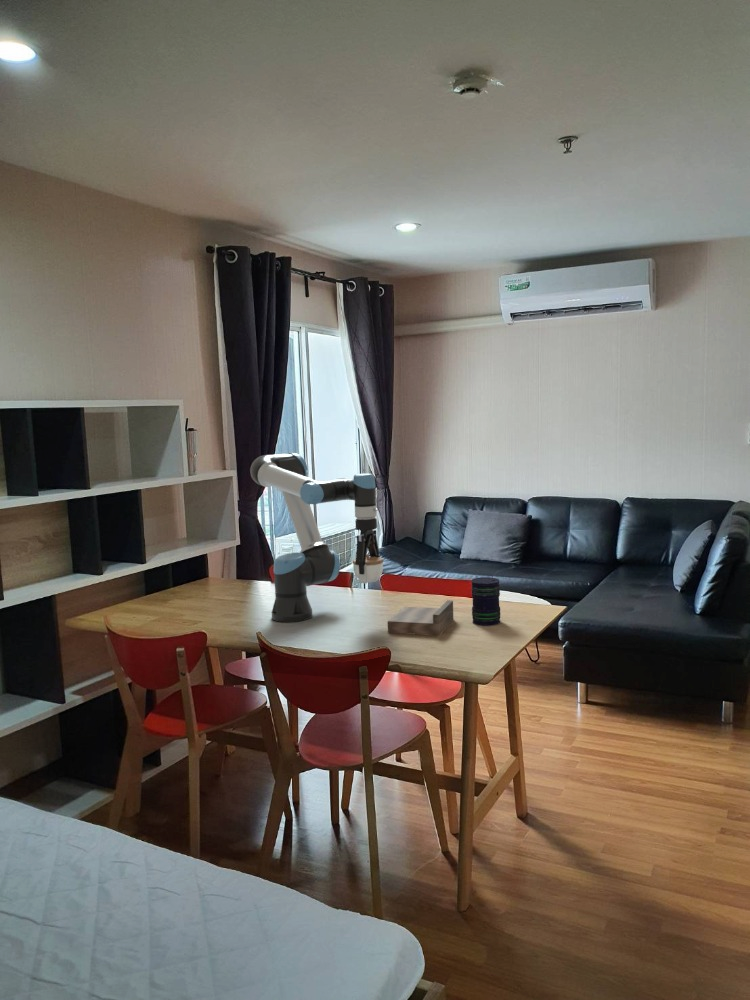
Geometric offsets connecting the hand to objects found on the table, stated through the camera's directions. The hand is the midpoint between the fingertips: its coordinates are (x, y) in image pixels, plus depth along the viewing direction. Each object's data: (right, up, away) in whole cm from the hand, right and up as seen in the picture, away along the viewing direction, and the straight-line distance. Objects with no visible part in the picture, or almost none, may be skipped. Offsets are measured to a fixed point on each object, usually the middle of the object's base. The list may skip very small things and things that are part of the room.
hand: (368, 579), depth 272 cm
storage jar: (+41, -15, -3) cm, 44 cm away
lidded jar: (0, -1, 0) cm, 1 cm away
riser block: (+18, -16, -5) cm, 25 cm away
